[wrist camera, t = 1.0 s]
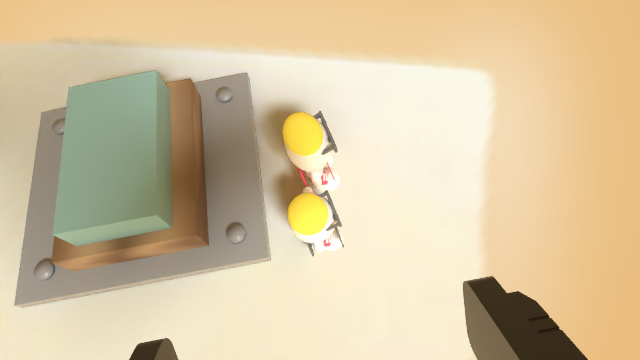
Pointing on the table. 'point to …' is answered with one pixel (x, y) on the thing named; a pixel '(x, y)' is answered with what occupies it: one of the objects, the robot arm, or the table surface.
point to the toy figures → (313, 181)
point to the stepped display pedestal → (142, 187)
